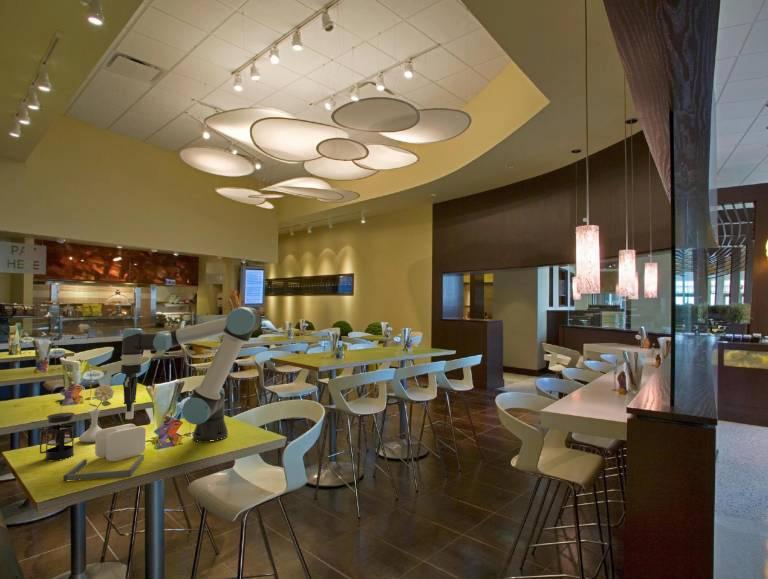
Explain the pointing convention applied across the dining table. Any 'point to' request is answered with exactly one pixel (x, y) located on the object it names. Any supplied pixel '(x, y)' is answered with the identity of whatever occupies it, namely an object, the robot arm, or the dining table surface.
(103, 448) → the white napkin holder
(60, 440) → the french press
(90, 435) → the flower in vase
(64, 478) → the frame
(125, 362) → the robot arm
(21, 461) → the dining table surface
